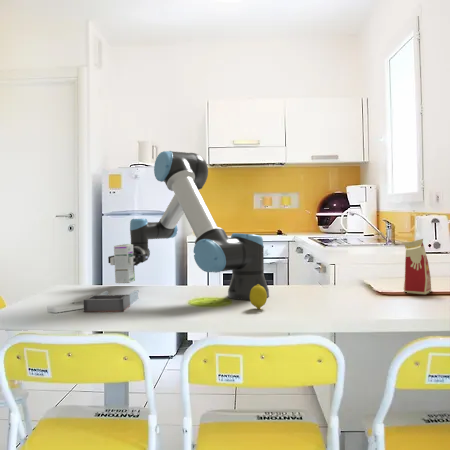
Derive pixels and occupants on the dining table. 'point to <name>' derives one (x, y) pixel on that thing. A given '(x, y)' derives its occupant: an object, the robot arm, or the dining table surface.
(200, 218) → the robot arm
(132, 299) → the guide channel
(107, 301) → the trap bin
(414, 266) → the red paper bag
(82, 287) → the dining table surface
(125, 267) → the syrup box
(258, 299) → the lemon
